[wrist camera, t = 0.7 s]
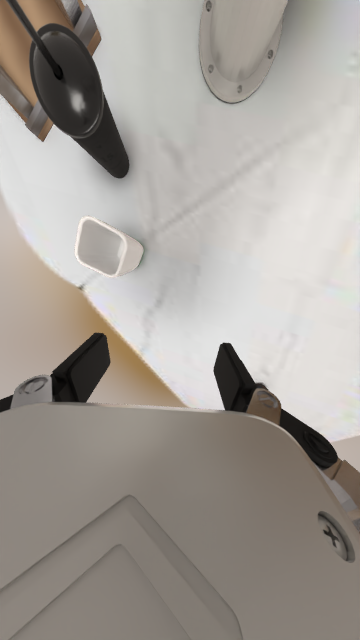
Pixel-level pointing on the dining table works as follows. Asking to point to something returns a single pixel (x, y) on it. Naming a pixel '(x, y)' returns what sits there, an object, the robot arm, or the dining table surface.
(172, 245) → the dining table surface
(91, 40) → the base
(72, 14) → the sliding jaw
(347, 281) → the dining table surface
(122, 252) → the cup
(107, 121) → the drinking cup
